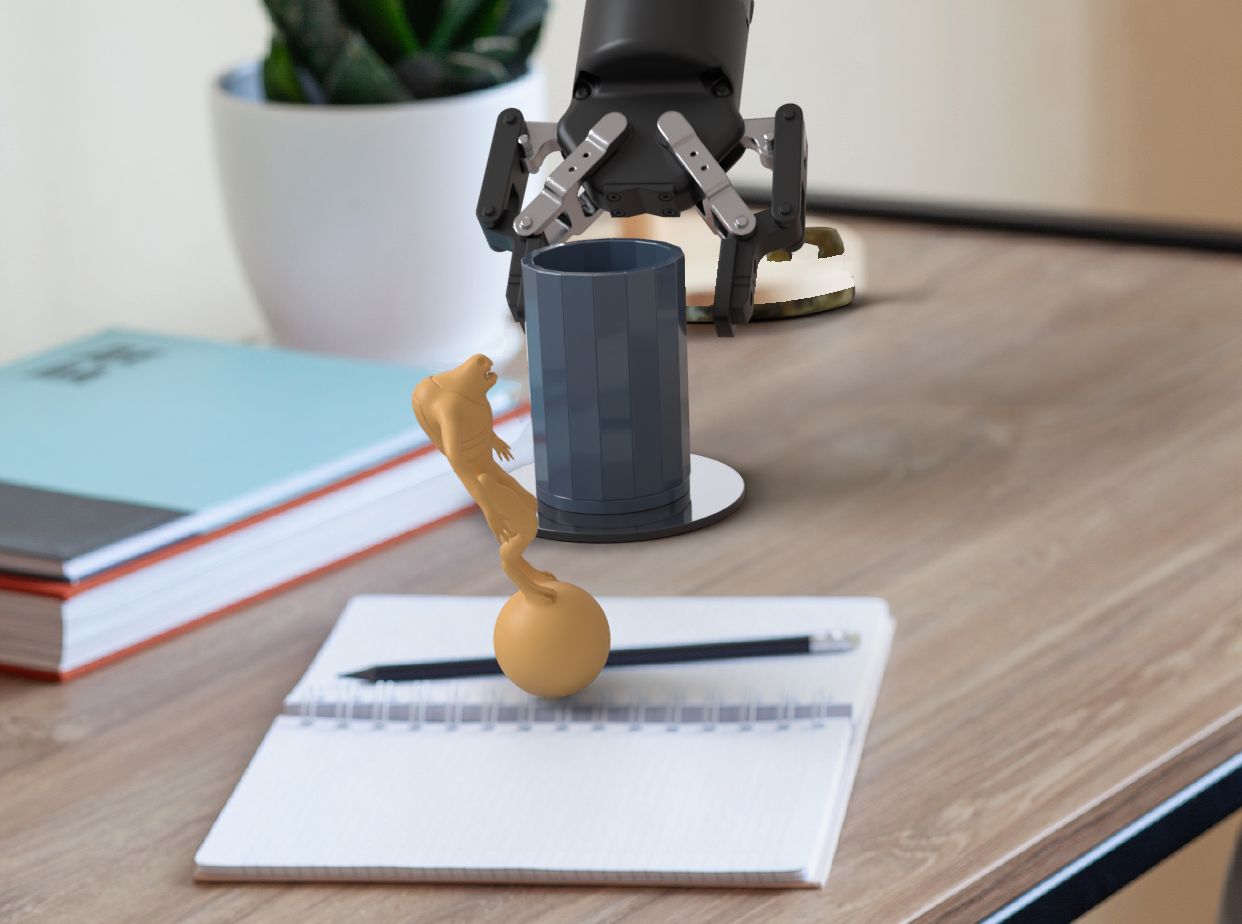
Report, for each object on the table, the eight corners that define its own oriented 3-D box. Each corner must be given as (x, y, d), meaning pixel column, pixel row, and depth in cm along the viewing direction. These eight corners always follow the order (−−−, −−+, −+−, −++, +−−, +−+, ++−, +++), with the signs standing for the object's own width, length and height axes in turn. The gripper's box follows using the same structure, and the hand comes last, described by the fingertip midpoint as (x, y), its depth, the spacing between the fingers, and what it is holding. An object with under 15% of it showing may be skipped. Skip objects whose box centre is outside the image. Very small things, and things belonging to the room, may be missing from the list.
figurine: (618, 741, 68) (601, 383, 63) (433, 752, 68) (401, 395, 63) (608, 641, 75) (592, 314, 70) (441, 651, 75) (413, 325, 70)
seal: (580, 342, 117) (851, 336, 114) (573, 261, 114) (850, 253, 111) (605, 283, 124) (859, 276, 122) (599, 206, 122) (858, 197, 119)
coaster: (771, 463, 92) (771, 455, 92) (706, 550, 83) (706, 541, 83) (537, 451, 96) (537, 443, 96) (450, 533, 87) (449, 524, 87)
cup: (707, 468, 91) (701, 239, 87) (665, 519, 86) (657, 277, 81) (564, 460, 93) (552, 236, 89) (514, 509, 88) (498, 273, 84)
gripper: (497, -37, 93) (444, 281, 88) (817, -49, 90) (782, 282, 84) (533, 68, 100) (486, 368, 95) (831, 61, 96) (799, 372, 91)
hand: (625, 327), depth 90 cm, fingers open, 8 cm apart
